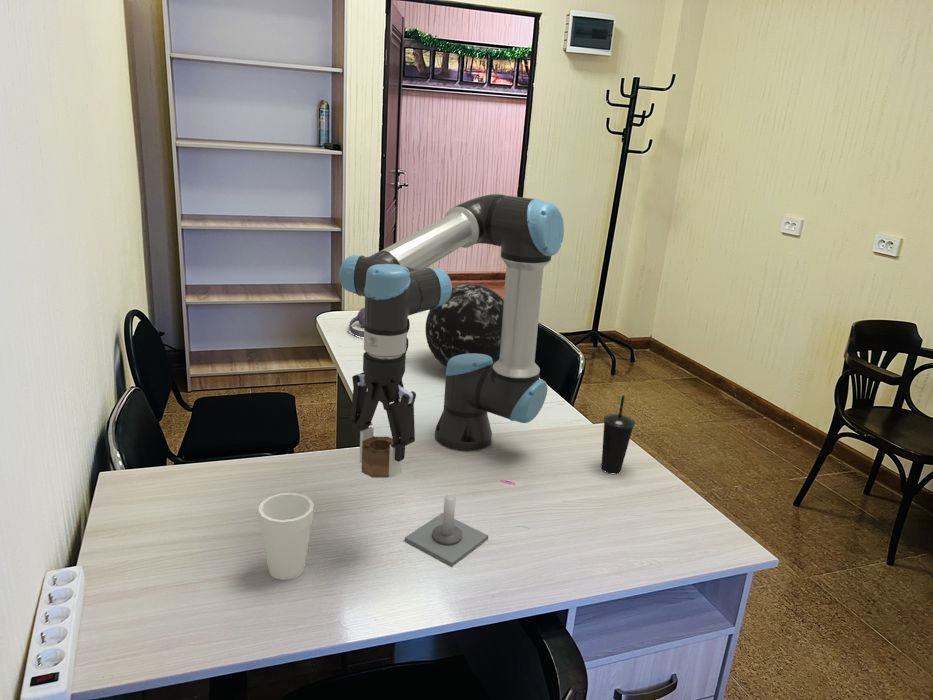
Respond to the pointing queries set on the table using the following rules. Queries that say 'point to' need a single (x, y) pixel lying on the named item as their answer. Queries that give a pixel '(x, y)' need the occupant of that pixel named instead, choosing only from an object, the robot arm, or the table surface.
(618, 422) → the drinking cup
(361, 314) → the headphones
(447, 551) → the grey peg stand
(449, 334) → the globe
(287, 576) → the foam cup
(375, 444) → the brown faceted ring
